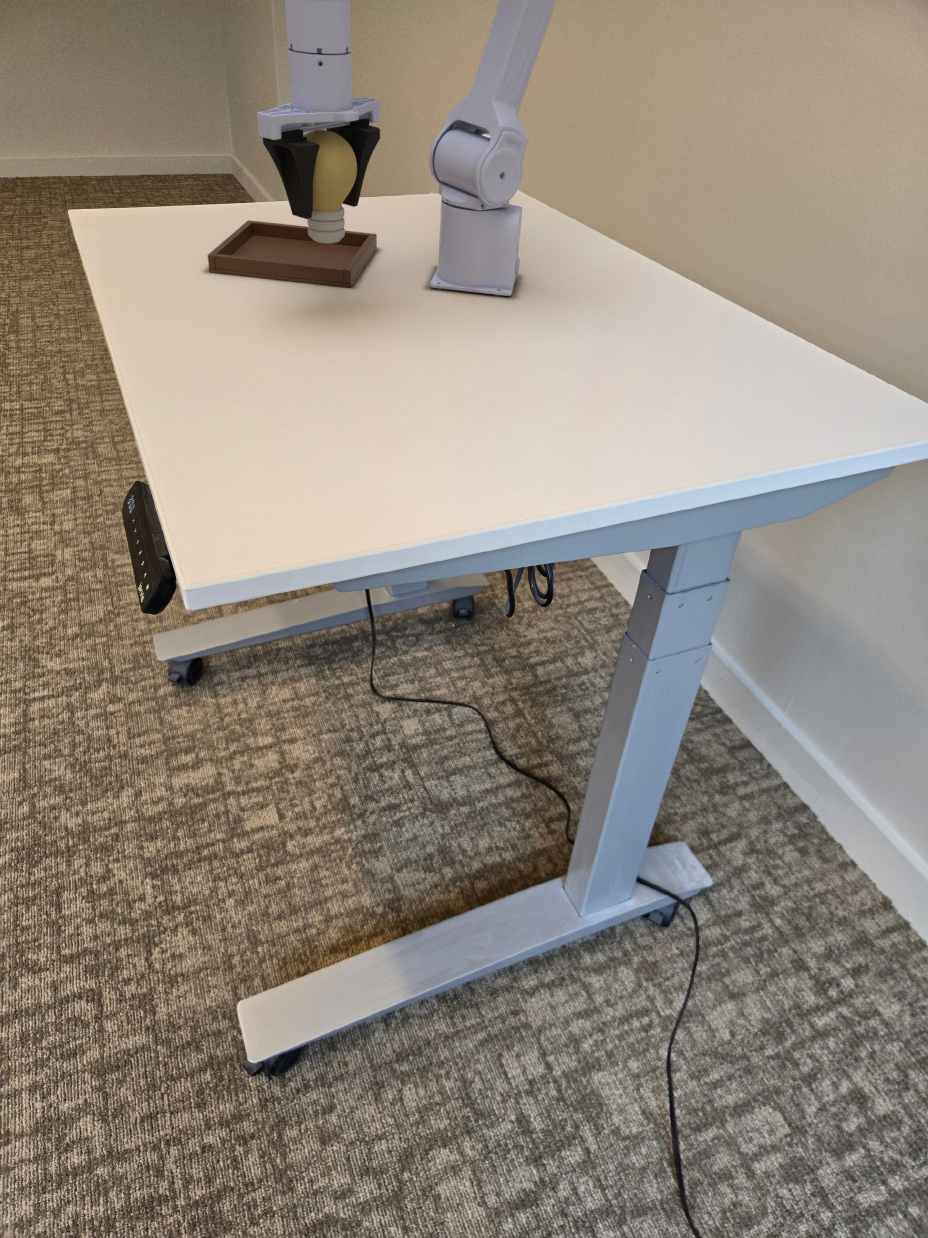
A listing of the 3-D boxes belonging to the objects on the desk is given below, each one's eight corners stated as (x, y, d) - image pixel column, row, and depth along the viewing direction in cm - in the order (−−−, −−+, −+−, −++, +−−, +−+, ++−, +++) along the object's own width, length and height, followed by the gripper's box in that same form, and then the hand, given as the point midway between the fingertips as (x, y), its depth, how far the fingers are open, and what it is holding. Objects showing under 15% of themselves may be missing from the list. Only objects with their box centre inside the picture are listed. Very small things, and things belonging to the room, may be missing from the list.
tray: (376, 249, 110) (376, 233, 109) (350, 287, 99) (350, 270, 98) (249, 235, 111) (247, 219, 110) (209, 271, 100) (207, 254, 99)
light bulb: (288, 232, 90) (281, 123, 84) (346, 229, 93) (344, 123, 86) (304, 251, 86) (299, 138, 80) (366, 247, 88) (365, 137, 82)
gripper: (293, 61, 72) (302, 233, 81) (404, 51, 82) (402, 205, 90) (235, 50, 75) (249, 216, 84) (349, 40, 85) (351, 191, 93)
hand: (325, 210), depth 87 cm, fingers closed on light bulb, 6 cm apart
